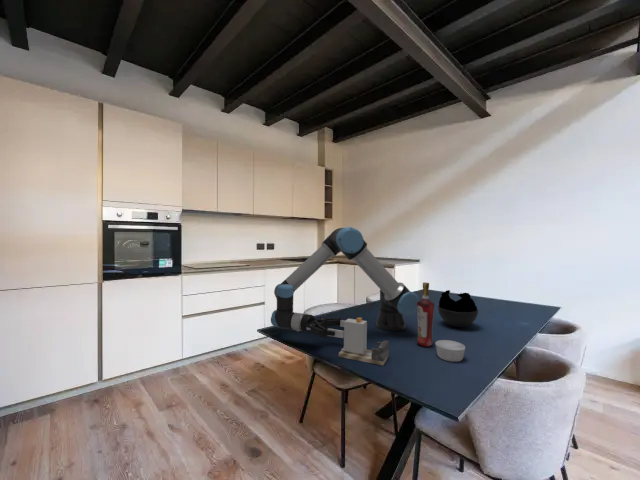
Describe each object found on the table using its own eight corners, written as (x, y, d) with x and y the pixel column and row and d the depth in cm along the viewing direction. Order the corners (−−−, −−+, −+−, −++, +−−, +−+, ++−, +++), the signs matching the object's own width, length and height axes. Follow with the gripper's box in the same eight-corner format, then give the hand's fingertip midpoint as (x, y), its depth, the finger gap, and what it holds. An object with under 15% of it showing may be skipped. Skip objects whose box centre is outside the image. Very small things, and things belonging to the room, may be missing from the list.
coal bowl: (485, 332, 155) (486, 296, 154) (446, 331, 155) (446, 295, 155) (467, 321, 175) (467, 289, 174) (432, 320, 175) (432, 288, 175)
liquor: (412, 343, 137) (413, 282, 137) (425, 341, 140) (426, 281, 140) (424, 348, 131) (425, 284, 130) (437, 346, 134) (438, 283, 133)
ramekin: (463, 365, 114) (463, 352, 114) (432, 359, 120) (432, 345, 120) (466, 356, 124) (467, 343, 124) (438, 350, 130) (438, 338, 130)
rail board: (338, 356, 121) (338, 340, 121) (346, 349, 129) (346, 334, 129) (383, 365, 113) (383, 348, 113) (388, 357, 121) (388, 341, 121)
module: (343, 350, 122) (344, 318, 122) (348, 346, 127) (348, 315, 126) (362, 354, 119) (363, 320, 119) (366, 350, 123) (367, 317, 123)
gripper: (315, 323, 144) (358, 330, 135) (288, 339, 121) (337, 348, 112) (316, 308, 144) (358, 313, 135) (288, 321, 121) (337, 328, 112)
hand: (349, 329), depth 123 cm, fingers open, 13 cm apart
